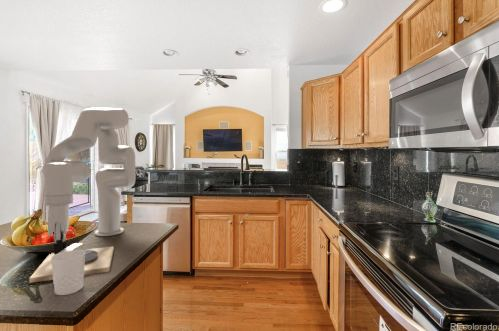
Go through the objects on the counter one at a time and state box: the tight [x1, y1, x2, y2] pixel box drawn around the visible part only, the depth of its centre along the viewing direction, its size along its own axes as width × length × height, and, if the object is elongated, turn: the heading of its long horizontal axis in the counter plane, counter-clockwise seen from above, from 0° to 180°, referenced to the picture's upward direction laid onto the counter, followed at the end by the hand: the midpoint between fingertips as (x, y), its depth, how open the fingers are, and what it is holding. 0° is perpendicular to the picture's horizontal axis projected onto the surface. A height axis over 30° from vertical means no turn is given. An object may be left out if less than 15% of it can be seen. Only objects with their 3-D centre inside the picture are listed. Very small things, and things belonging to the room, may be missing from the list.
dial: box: [59, 242, 98, 263], centre depth 91 cm, size 14×12×5 cm
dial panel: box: [28, 246, 115, 284], centre depth 92 cm, size 21×21×4 cm
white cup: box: [51, 250, 85, 296], centre depth 75 cm, size 8×8×10 cm
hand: (60, 253), depth 89 cm, fingers closed
